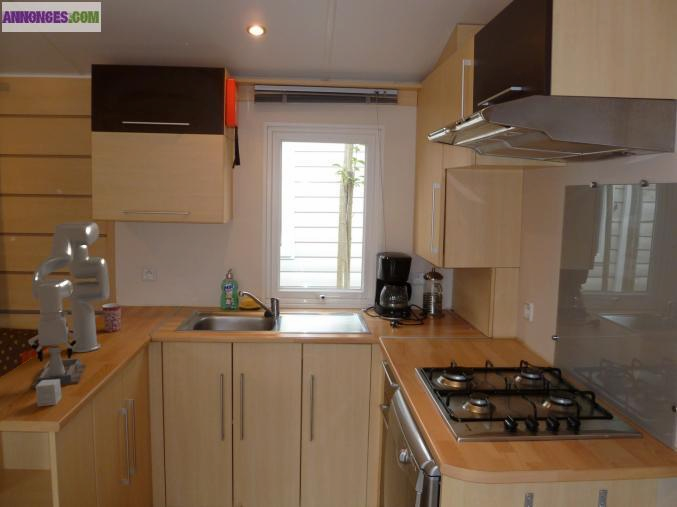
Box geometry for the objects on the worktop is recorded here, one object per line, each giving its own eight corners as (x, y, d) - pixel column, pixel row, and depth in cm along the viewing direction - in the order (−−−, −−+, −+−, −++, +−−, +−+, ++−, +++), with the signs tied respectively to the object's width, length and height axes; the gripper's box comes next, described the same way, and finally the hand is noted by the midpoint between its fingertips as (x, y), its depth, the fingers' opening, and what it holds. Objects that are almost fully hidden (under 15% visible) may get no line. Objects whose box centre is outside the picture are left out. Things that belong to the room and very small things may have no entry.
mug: (119, 332, 279) (117, 306, 277) (101, 333, 279) (99, 307, 277) (127, 326, 292) (125, 301, 290) (110, 326, 291) (108, 301, 289)
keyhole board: (43, 369, 223) (43, 367, 223) (85, 365, 228) (85, 363, 228) (31, 388, 203) (31, 386, 202) (78, 383, 208) (78, 380, 207)
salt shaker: (61, 375, 213) (59, 343, 211) (68, 378, 209) (65, 346, 208) (46, 379, 209) (43, 347, 207) (52, 383, 205) (49, 349, 203)
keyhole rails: (48, 366, 224) (48, 361, 224) (80, 363, 228) (80, 357, 227) (37, 385, 203) (36, 378, 203) (72, 381, 207) (72, 375, 206)
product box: (62, 398, 193) (60, 378, 192) (56, 405, 187) (54, 384, 186) (43, 399, 192) (42, 379, 191) (36, 406, 186) (35, 386, 185)
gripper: (78, 311, 212) (81, 353, 214) (28, 315, 207) (32, 358, 209) (75, 315, 205) (79, 359, 207) (23, 320, 200) (28, 364, 202)
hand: (55, 359), depth 208 cm, fingers open, 9 cm apart
